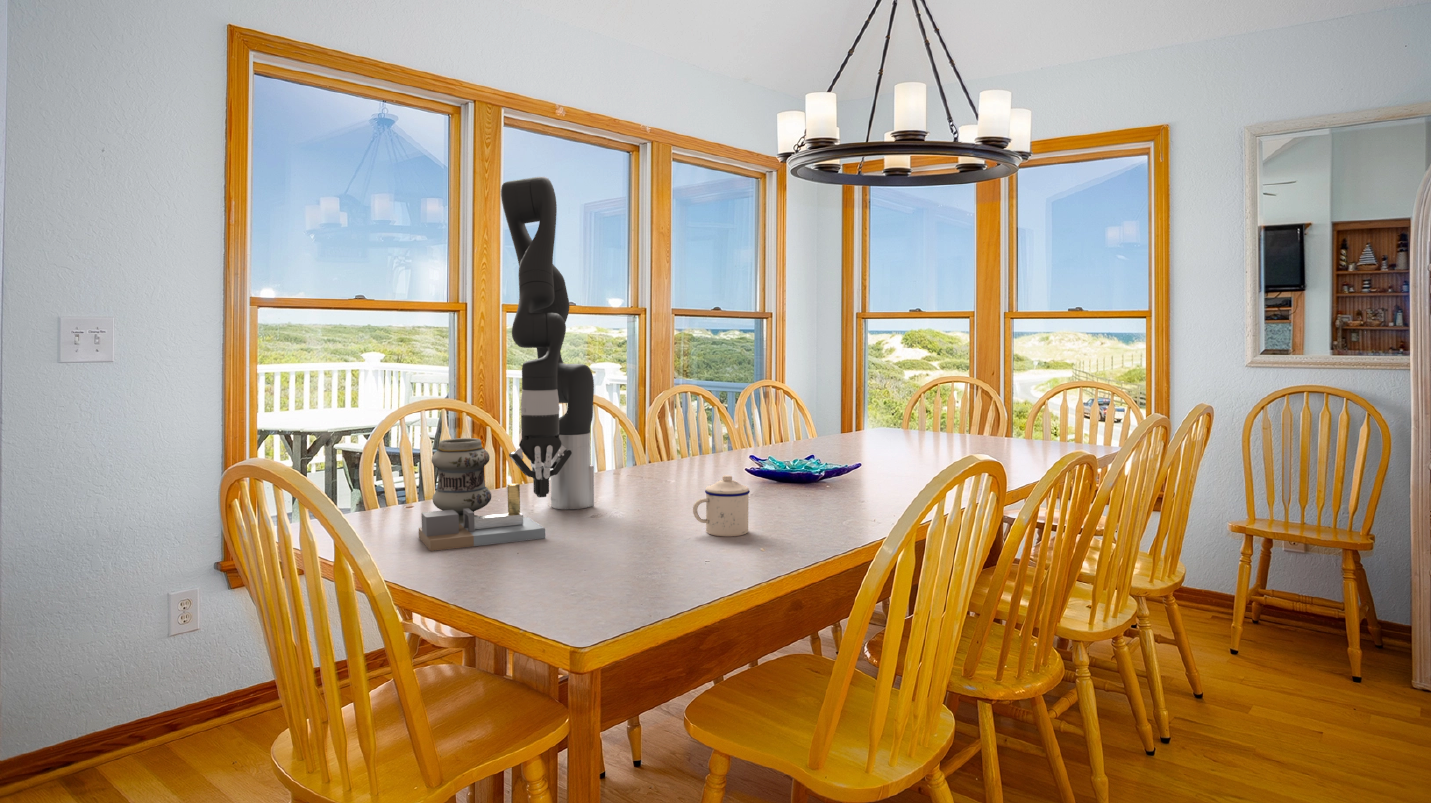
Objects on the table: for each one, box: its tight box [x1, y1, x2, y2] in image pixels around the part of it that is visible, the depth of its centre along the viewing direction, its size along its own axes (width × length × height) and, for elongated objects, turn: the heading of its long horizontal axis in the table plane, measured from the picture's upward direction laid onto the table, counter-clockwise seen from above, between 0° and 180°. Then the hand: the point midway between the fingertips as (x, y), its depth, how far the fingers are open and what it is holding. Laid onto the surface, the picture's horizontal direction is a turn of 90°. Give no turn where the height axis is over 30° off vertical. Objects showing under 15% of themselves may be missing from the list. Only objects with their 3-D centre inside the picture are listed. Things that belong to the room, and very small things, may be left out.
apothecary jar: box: [431, 437, 492, 524], centre depth 189 cm, size 12×12×18 cm
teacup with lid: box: [692, 474, 750, 538], centre depth 181 cm, size 12×9×12 cm
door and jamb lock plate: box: [418, 508, 546, 552], centre depth 177 cm, size 22×12×6 cm, turn 118°
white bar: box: [474, 483, 524, 529], centre depth 178 cm, size 10×2×8 cm, turn 118°
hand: (541, 496), depth 182 cm, fingers closed
